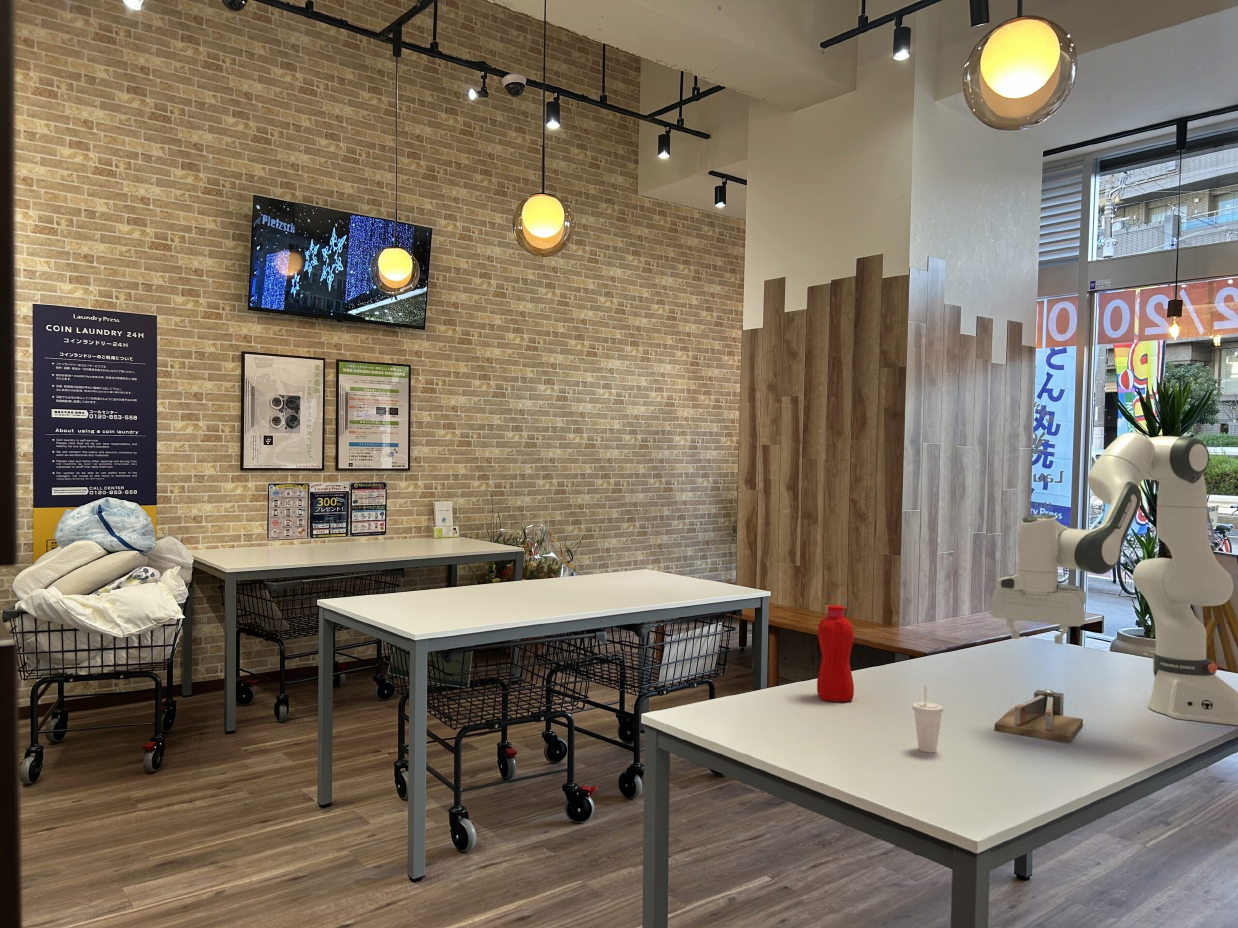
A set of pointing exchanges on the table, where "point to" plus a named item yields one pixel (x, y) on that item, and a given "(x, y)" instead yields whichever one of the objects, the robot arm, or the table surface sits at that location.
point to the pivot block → (1057, 700)
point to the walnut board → (1041, 727)
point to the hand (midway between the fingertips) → (1036, 640)
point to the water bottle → (835, 656)
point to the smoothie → (927, 723)
